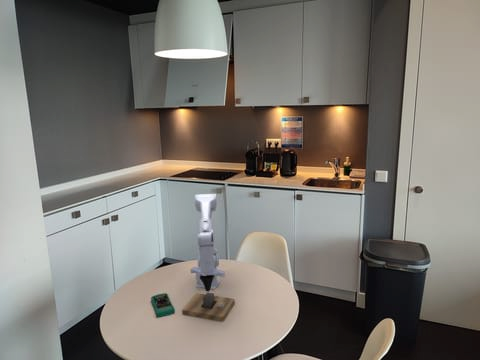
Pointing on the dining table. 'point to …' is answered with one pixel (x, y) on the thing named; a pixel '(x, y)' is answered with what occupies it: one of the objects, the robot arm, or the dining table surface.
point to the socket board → (215, 313)
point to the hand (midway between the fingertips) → (208, 290)
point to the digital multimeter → (162, 305)
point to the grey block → (208, 300)
